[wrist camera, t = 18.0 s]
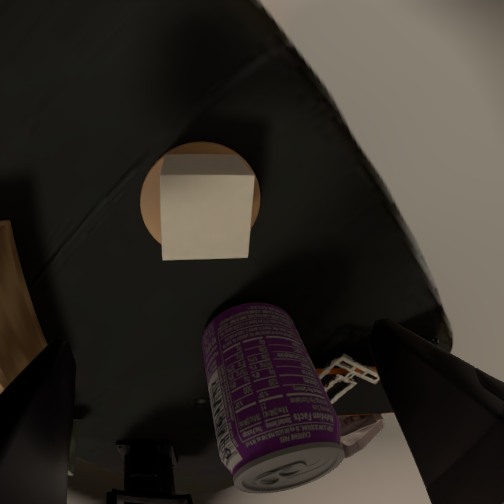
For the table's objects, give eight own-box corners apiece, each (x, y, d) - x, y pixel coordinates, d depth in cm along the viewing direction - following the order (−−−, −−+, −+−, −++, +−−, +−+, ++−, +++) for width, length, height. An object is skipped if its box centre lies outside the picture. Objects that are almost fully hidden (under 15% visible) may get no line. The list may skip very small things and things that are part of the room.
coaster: (253, 251, 21) (255, 255, 21) (144, 254, 20) (143, 258, 19) (263, 143, 18) (265, 144, 17) (139, 142, 16) (138, 143, 16)
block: (233, 220, 19) (248, 257, 15) (165, 222, 18) (162, 260, 15) (237, 154, 17) (255, 175, 14) (164, 154, 17) (159, 175, 13)
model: (256, 344, 25) (257, 340, 25) (244, 423, 30) (245, 420, 31) (393, 359, 24) (392, 355, 24) (350, 434, 29) (350, 430, 30)
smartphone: (435, 402, 28) (436, 408, 27) (284, 410, 31) (283, 417, 30) (456, 355, 24) (458, 362, 24) (279, 365, 28) (278, 372, 27)
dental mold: (311, 465, 30) (299, 432, 34) (362, 454, 31) (348, 424, 36) (335, 428, 26) (319, 391, 31) (392, 416, 28) (373, 383, 32)
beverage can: (231, 375, 27) (262, 502, 16) (182, 326, 23) (197, 480, 13) (304, 336, 26) (363, 460, 16) (267, 279, 22) (333, 426, 12)
